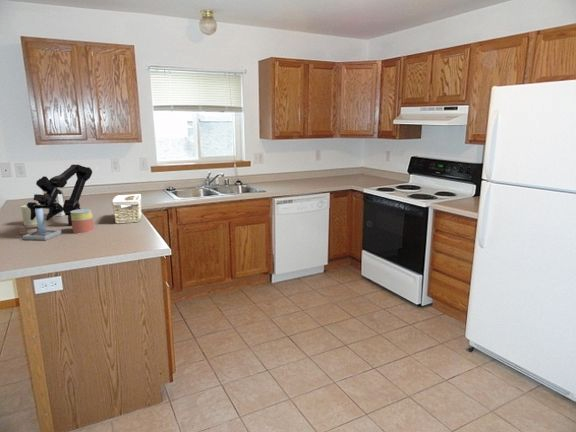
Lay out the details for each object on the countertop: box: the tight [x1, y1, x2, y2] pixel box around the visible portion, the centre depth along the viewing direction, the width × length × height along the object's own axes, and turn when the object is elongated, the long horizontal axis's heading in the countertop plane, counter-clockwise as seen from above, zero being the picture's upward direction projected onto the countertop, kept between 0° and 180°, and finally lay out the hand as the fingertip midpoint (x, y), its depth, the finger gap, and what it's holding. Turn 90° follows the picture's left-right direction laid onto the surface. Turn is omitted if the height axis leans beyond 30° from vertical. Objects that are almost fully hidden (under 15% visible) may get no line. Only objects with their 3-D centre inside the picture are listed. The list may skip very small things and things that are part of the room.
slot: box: [18, 225, 38, 237], centre depth 232 cm, size 14×12×1 cm
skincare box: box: [54, 194, 66, 217], centre depth 269 cm, size 8×6×15 cm
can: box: [20, 204, 37, 226], centre depth 248 cm, size 9×9×12 cm
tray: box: [22, 229, 63, 242], centre depth 220 cm, size 13×13×2 cm
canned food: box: [70, 208, 95, 234], centre depth 231 cm, size 11×11×12 cm
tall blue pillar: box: [34, 208, 52, 236], centre depth 219 cm, size 7×5×15 cm
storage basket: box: [111, 193, 142, 224], centre depth 257 cm, size 24×16×15 cm
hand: (38, 220), depth 217 cm, fingers open, 9 cm apart
